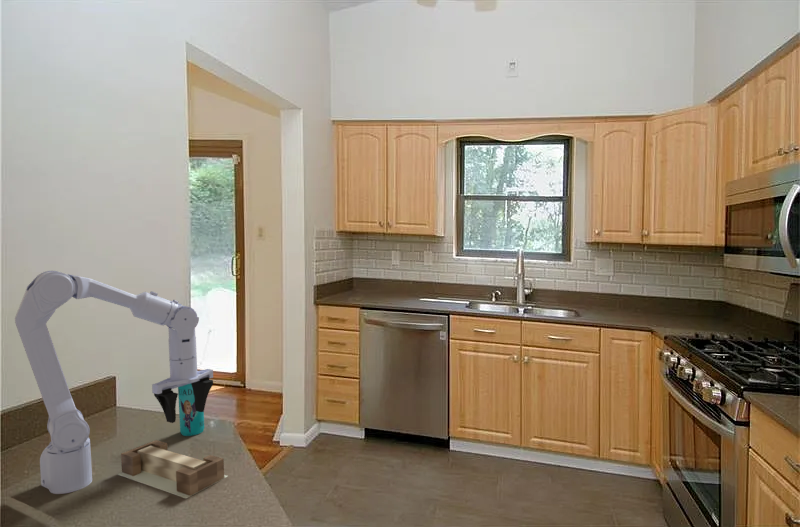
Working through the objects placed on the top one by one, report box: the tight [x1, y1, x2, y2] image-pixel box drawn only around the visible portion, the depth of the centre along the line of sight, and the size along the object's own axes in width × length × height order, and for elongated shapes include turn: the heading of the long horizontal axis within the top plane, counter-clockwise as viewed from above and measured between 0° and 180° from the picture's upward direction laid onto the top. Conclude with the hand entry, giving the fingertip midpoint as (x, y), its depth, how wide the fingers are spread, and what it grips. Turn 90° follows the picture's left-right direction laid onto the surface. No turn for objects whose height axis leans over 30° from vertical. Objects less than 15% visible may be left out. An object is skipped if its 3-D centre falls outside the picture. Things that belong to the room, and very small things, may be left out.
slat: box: [138, 446, 206, 481], centre depth 103 cm, size 18×3×4 cm, turn 60°
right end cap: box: [176, 454, 225, 497], centre depth 99 cm, size 4×8×4 cm, turn 150°
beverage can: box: [177, 383, 205, 437], centre depth 127 cm, size 6×6×15 cm
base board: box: [116, 470, 229, 499], centre depth 103 cm, size 22×10×1 cm, turn 60°
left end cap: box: [120, 439, 169, 476], centre depth 108 cm, size 4×8×4 cm, turn 150°
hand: (185, 416), depth 114 cm, fingers open, 7 cm apart
